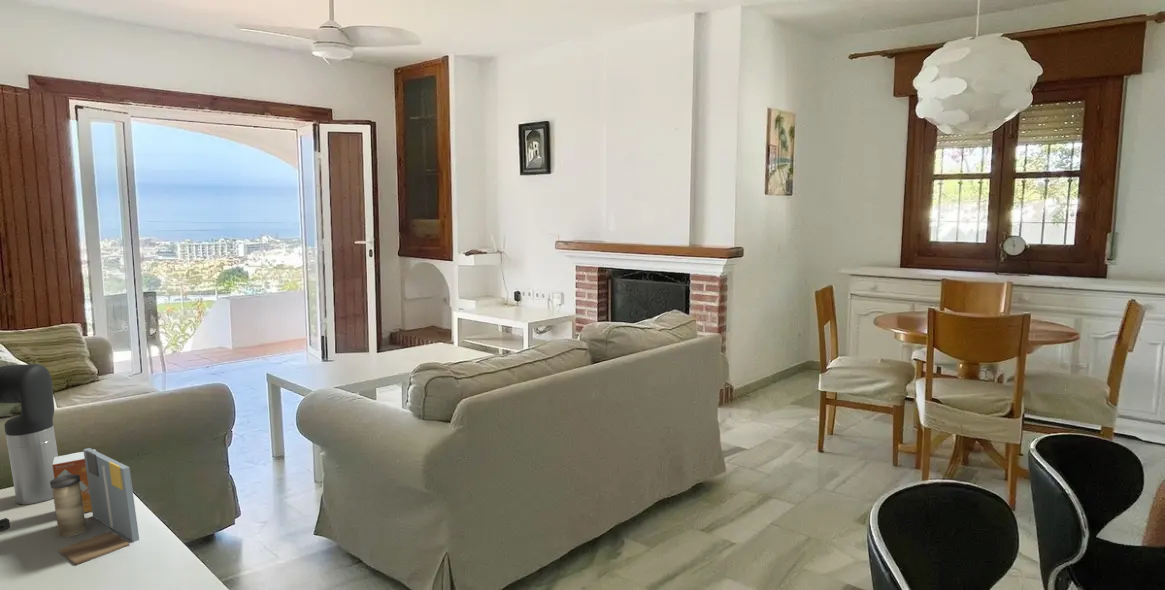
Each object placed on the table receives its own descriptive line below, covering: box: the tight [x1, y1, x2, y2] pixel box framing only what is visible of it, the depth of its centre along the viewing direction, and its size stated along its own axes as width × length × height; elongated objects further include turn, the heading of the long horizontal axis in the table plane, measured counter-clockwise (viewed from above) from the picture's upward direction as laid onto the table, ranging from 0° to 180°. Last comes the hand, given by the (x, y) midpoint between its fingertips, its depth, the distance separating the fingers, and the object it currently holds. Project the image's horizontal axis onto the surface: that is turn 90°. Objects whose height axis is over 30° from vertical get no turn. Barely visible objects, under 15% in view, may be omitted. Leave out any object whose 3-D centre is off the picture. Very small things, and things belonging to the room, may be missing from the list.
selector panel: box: [82, 447, 140, 543], centre depth 154 cm, size 22×2×16 cm, turn 53°
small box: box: [53, 449, 97, 514], centre depth 164 cm, size 8×6×13 cm
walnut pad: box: [57, 530, 130, 566], centre depth 146 cm, size 10×10×1 cm
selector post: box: [50, 474, 87, 538], centre depth 153 cm, size 5×5×12 cm
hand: (2, 517), depth 144 cm, fingers open, 8 cm apart
